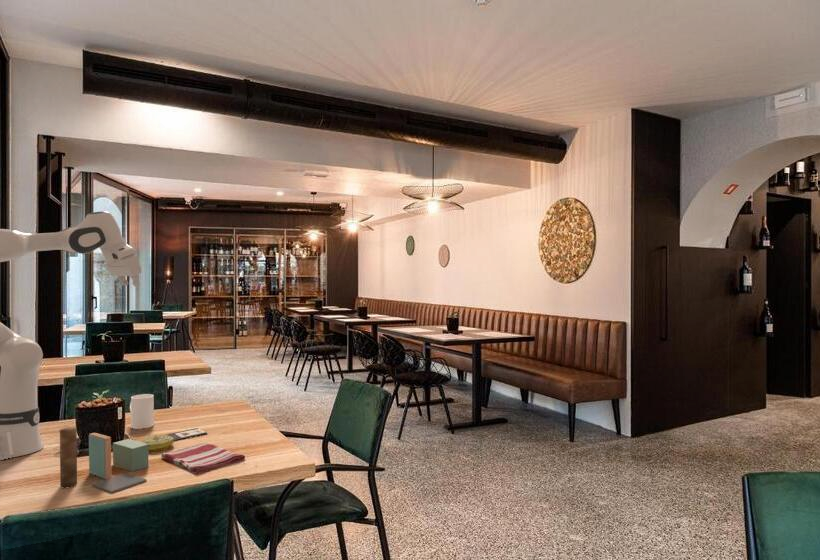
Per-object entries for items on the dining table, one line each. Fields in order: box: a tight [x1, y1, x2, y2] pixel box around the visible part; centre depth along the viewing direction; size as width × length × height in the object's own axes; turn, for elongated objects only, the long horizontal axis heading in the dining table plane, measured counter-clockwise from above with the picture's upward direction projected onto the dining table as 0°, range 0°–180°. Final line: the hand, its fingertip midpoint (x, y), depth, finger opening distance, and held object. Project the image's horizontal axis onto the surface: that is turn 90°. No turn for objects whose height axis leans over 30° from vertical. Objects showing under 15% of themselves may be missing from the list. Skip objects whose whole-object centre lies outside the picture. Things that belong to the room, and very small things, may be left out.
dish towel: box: [160, 442, 246, 475], centre depth 173 cm, size 17×23×3 cm
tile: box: [88, 432, 112, 480], centre depth 159 cm, size 2×9×12 cm, turn 58°
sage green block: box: [112, 438, 149, 472], centre depth 167 cm, size 5×11×7 cm, turn 58°
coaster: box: [92, 472, 147, 494], centre depth 153 cm, size 10×10×1 cm
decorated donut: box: [140, 434, 175, 453], centre depth 185 cm, size 10×11×4 cm
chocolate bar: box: [165, 427, 208, 442], centre depth 197 cm, size 9×1×18 cm
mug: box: [129, 393, 155, 430], centre depth 213 cm, size 12×8×12 cm
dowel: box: [59, 426, 78, 489], centre depth 152 cm, size 4×4×16 cm
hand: (131, 285), depth 205 cm, fingers open, 8 cm apart
